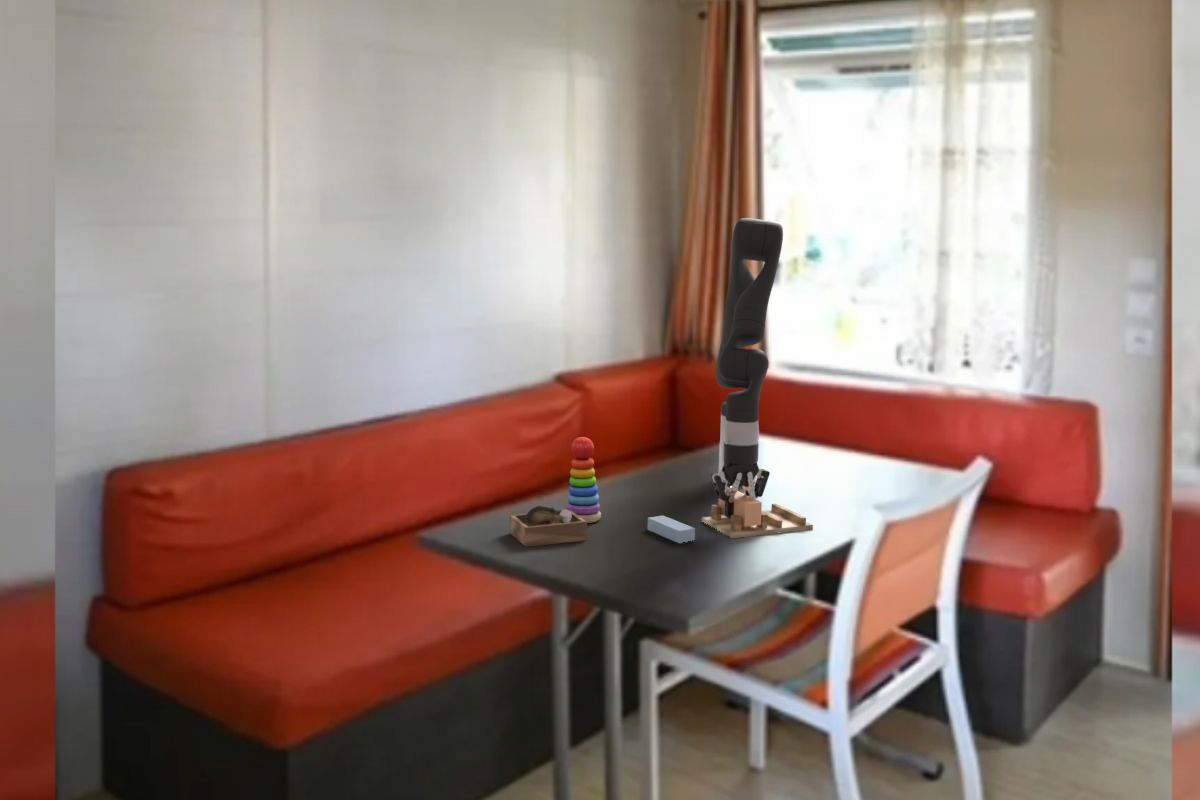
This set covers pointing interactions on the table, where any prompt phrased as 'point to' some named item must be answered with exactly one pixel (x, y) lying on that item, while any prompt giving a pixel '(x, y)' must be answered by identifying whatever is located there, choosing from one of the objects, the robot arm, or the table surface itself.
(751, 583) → the table surface
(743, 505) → the knobbed wooden block
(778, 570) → the table surface
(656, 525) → the light blue rectangular block
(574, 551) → the table surface
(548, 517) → the eagle figurine
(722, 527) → the jig
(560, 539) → the open wooden box
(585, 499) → the stacking toy
